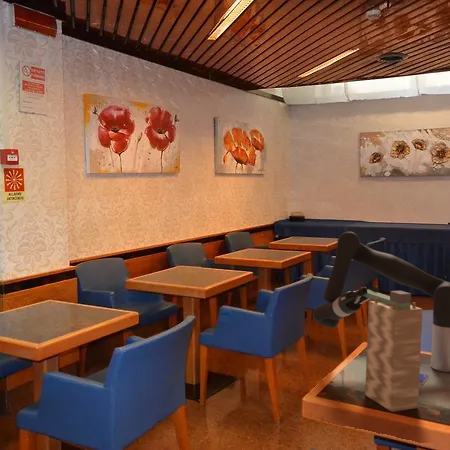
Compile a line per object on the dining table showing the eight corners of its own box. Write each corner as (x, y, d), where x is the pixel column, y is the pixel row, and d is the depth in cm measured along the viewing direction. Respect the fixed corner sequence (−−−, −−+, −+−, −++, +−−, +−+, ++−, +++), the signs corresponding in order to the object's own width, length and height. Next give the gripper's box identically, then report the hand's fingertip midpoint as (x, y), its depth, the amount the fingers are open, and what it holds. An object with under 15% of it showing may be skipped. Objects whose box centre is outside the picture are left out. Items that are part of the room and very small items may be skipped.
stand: (365, 394, 175) (368, 296, 172) (389, 391, 178) (393, 295, 176) (391, 411, 162) (396, 306, 159) (417, 407, 165) (422, 304, 162)
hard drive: (428, 374, 192) (394, 367, 199) (422, 381, 185) (388, 374, 192) (428, 378, 192) (394, 371, 199) (422, 385, 185) (387, 378, 192)
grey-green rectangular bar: (358, 294, 183) (359, 281, 182) (368, 293, 184) (369, 281, 184) (399, 308, 162) (400, 294, 162) (410, 308, 163) (411, 293, 163)
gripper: (327, 295, 193) (351, 280, 178) (360, 293, 197) (385, 278, 183) (332, 315, 190) (357, 301, 175) (365, 312, 194) (391, 298, 180)
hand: (371, 289), depth 179 cm, fingers closed on grey-green rectangular bar, 4 cm apart
